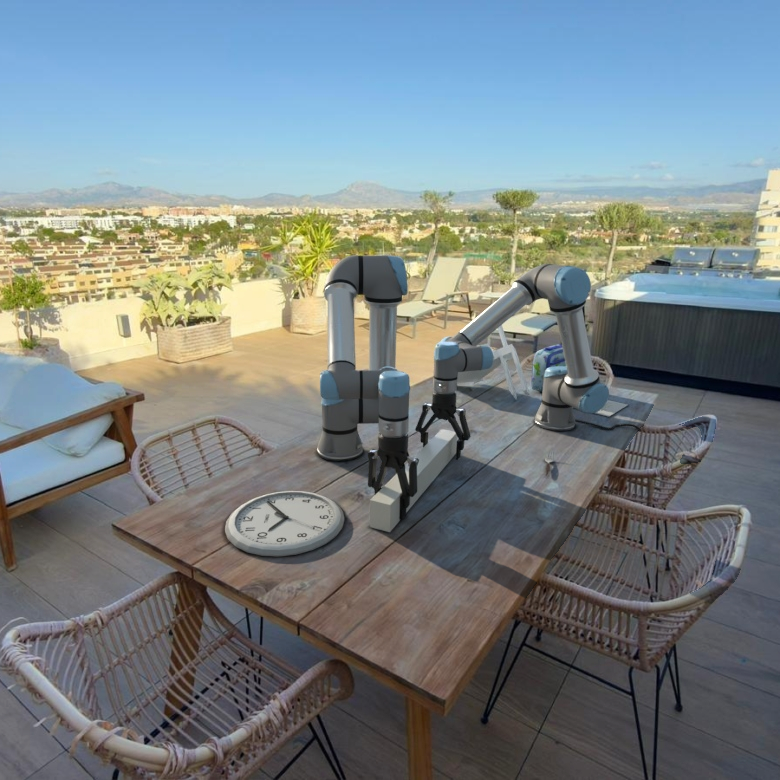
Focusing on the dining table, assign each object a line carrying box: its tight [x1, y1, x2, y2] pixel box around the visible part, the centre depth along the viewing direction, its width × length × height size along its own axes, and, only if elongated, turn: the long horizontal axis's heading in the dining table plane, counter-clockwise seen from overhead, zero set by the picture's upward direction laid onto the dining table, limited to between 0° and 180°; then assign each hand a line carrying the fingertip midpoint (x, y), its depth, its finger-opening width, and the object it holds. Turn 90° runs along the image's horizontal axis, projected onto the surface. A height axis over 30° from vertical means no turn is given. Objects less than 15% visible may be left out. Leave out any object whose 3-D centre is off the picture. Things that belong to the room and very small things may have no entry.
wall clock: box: [224, 490, 345, 557], centre depth 134 cm, size 30×2×30 cm
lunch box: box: [530, 344, 566, 392], centre depth 247 cm, size 26×11×21 cm, turn 134°
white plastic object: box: [457, 324, 531, 400], centre depth 245 cm, size 37×45×31 cm
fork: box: [544, 451, 555, 476], centre depth 168 cm, size 3×16×2 cm, turn 160°
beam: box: [369, 428, 458, 533], centre depth 154 cm, size 54×6×8 cm, turn 155°
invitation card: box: [595, 399, 629, 418], centre depth 226 cm, size 21×1×15 cm
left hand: (391, 514), depth 138 cm, fingers closed on beam, 6 cm apart
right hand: (441, 455), depth 172 cm, fingers open, 11 cm apart
